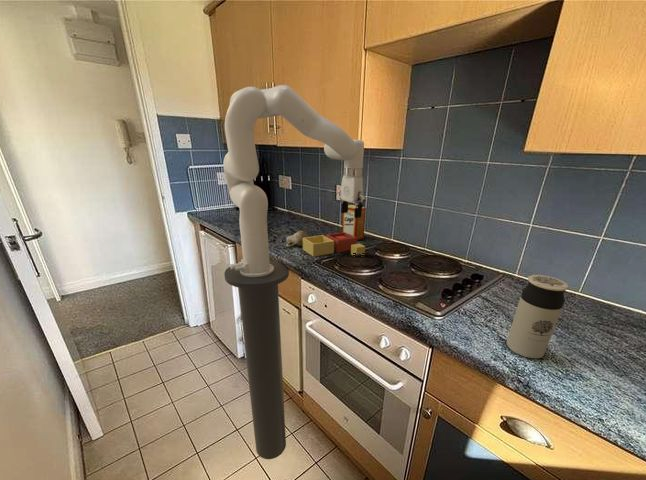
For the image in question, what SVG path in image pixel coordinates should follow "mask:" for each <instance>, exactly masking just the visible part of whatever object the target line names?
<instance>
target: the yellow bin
mask: <svg viewBox="0 0 646 480" xmlns="http://www.w3.org/2000/svg"><path fill="white" fill-rule="evenodd" d="M302 250H303V251H304V252H306V253H307V254H309V255H310V256H312V257H319V256H325V255H331V254H334V253H335V251H334V241H333V240H331V239H329V238H327V237H326V235H324V234H321V235H313V236H308V237H305V238H303V246H302Z"/></svg>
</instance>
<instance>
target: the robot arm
mask: <svg viewBox="0 0 646 480" xmlns="http://www.w3.org/2000/svg"><path fill="white" fill-rule="evenodd" d="M279 116H281V117H282V118H283V119H285V120H286V121H287V122H288V123H289V124H290V125H291V126H293V127H294V128H295V129H296V130H297V131H299V132H300V133H301V134H302V135H303V136H305V137H307V138H309V139H312V140H315V141H318V142H321V143H323V144H324V146H323V152H324V154H325V156H326V157H327V158H329V159H330V160H337V161H343V175H342V179H341V184H340V185H341V186H340V191H339V200H340V204H341V208H340V212H341V214H343V213H347V212H348V205H349V203H351V204H352V203H353V205H355V206H356V208H355V212H354V217H355V218H359V217H361V212H362V208H363V207H364V205H365V202H366V199H367V198H366V196H365V195H364V182H363V171H364V170H363V169H364V156H365V155H364V154H365V142H364V140H362V139H353V138H352V137H351V136H350V135H349V134H348V133H347V132H346V130H344V129H343V128H342V127H340V126H339V125H337V124H336V123H335V122H333V121H332V120H331V121H330V120H329V119H328V118H326V117H325V116H323V115H321V114H319V113H318V112H317V111H316V110H315V109H314V108H313V107H312V106H311V105H309V103H308V102H306V100H304V98H303V97H301V96H300V95H299V94H298V93H297V92H296V91H295V90H294V89H293V88H291V87H290V86H289V85H286V84H278V85H275V86H273V87H270V88H269V87H268V88H264V89H260V88H258V87H257V86H256V87H255V86H245V87H243V88H240V89H239V90H237V91H235V92H234V93H232V95H231V96H230V98H229V106H228V108H227V110H226V114H225V118H224V134H225V140H226V147H227V153H226V154H225V155H224V157H223V172H224V177H225V181H226V185H227V189H228V194H229V197H230V200H231V202H232V203H233V205H235V206H236V207H237V208H239V216H238V217H239V220H238V222H239V232H240V233H239V234H240V244H241V252H242V259H240V261H239V262H237V263H238V264H237V263H232V264H229V267H230V268H231V270H232V269H236V271H238V270H240V273H241V274H242V275H244V276H247V277H263V276H267V275H269V274H271V273H272V272H273V271H274V266H273V265H271V264H270V263H269V260H270V249H269V246H270V245H269V232H268V231H269V230H268V210H269V200H268V196H267V194H266V191H264V190H263V189H262V188H261V187H259V186H258V185H256V184H255V183H254V180H255V179H256V178H257V177H258V175H259V173H260V165H259V159H258V155H257V154H258V153H257V149H256V143H255V134H254V133H255V132H254V130H255V124H256V122H257V120H258V119H267V118H272V117H279ZM361 140H362V141H361Z"/></svg>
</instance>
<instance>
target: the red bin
mask: <svg viewBox="0 0 646 480" xmlns="http://www.w3.org/2000/svg"><path fill="white" fill-rule="evenodd" d="M337 236H345V237H347V238H348V239H342V240H337V239H335V237H337ZM325 237H327V238H329V239H331V240H333V241H334V252H336V253H343V252H348V251H351V245H353V244H358V242H357V241H358V240H357V237H354V236H352V235H350V234H348V233H346V232H342V231H341V232H336V233H327V234H326V235H325Z"/></svg>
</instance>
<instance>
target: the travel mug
mask: <svg viewBox="0 0 646 480" xmlns="http://www.w3.org/2000/svg"><path fill="white" fill-rule="evenodd" d="M527 281H528V283H527V285H526V286H525V287H524V288H523V289H522V291H521V294H520V297H519V301H518V304H517V308H516V311H515V314H514V317H513V320H512V323H511V327H510V329H509V332H508V335H507V340H506V342H505V343H506V345H507V348H509V349H510V350H511V351H513V352H514V353H516V354H517V355H518V356H519V355H520V356H522V357H525V358H529V359H541V358H543V357H544V356H545V353H546V351H547V349H548V346H549V343H550V341H551V338H552V335H553V333H554V330H555V327H556V325H557V322H558V320H559V317H560V315H561V313H562V309H563V307H564V304H565V302H566V299H565V295H564V294H565V292H566V291H567V290H568V289H569V284H568V283H566V282H565V281H563V280H562V279H559V278H557V277H553V276H549V275H544V274H532V275H529V276H528V277H527Z"/></svg>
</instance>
